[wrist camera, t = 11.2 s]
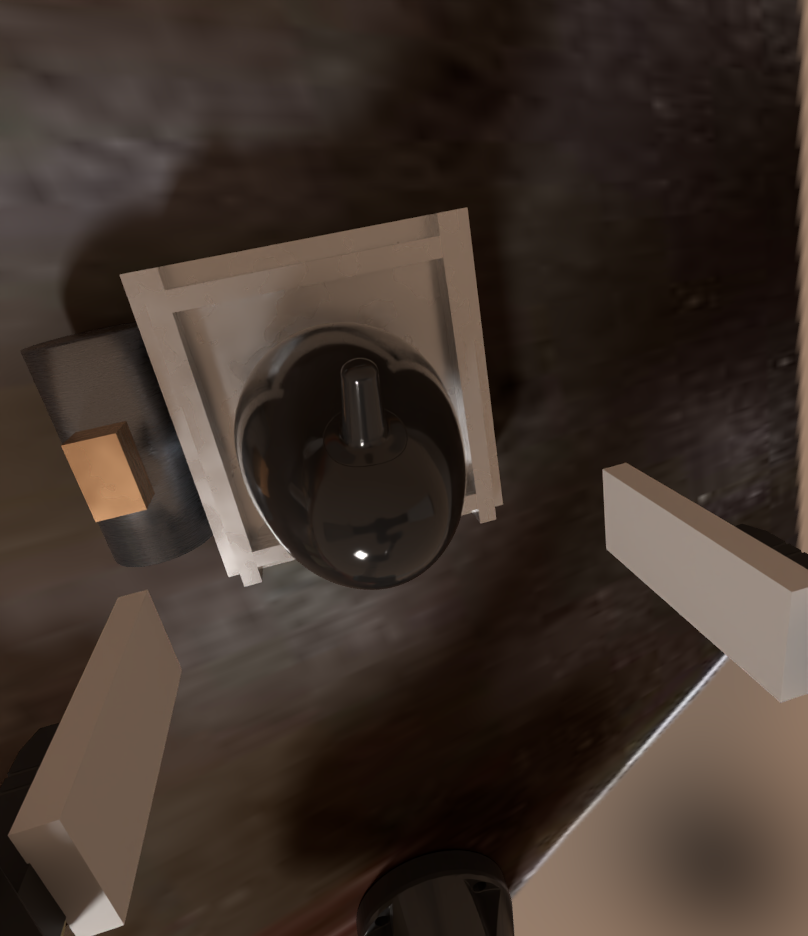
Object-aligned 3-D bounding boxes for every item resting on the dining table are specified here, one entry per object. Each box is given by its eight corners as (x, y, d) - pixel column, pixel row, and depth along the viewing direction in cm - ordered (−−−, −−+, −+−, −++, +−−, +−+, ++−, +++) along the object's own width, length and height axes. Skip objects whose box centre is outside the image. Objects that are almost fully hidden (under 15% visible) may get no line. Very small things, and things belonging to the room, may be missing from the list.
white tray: (476, 474, 39) (522, 526, 32) (142, 560, 37) (109, 638, 29) (440, 212, 33) (488, 203, 25) (27, 292, 30) (-53, 307, 23)
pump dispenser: (419, 296, 29) (547, 341, 15) (435, 477, 33) (549, 643, 19) (218, 322, 28) (161, 399, 14) (261, 510, 32) (250, 714, 18)
